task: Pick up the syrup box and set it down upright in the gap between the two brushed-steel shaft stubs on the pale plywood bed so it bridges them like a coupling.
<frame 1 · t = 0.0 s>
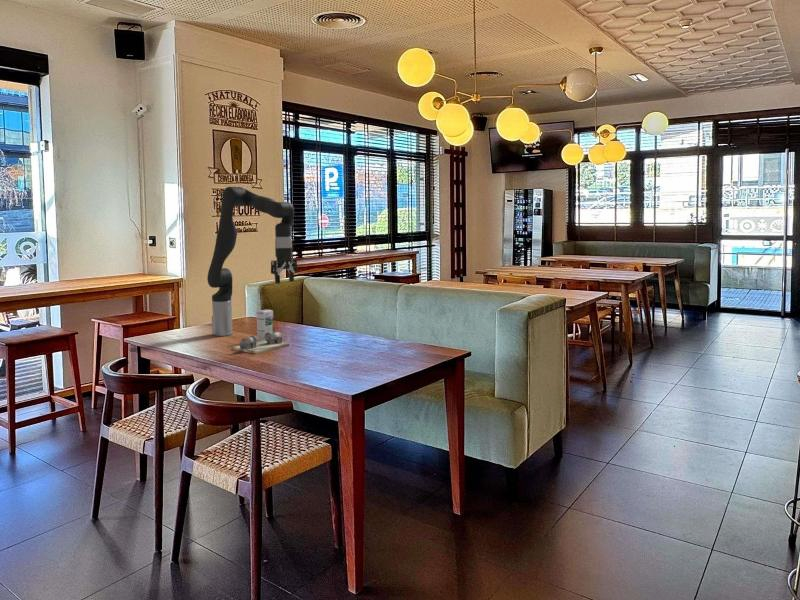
hand: (284, 282, 285), 29 cm above the table, fingers open, 8 cm apart
shaft bed: (260, 347, 284), on the table
syrup box: (265, 340, 301), on the table
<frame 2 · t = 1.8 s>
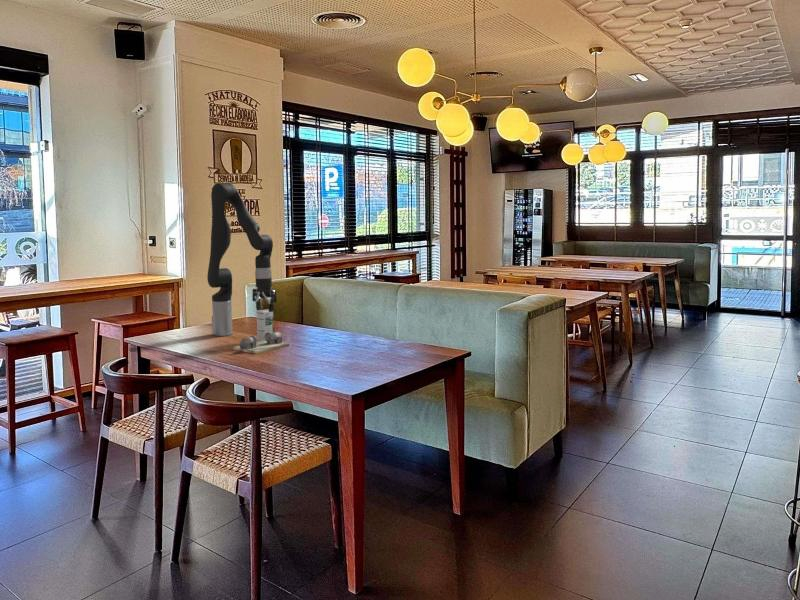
hand: (264, 310, 299), 14 cm above the table, fingers open, 8 cm apart
nothing on the table moved.
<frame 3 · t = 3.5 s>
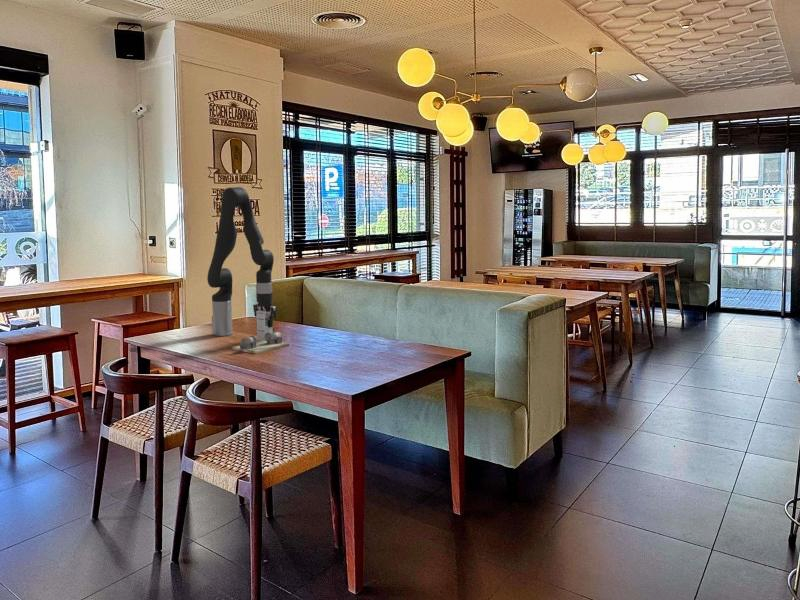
hand: (265, 326, 300), 7 cm above the table, fingers closed on syrup box, 6 cm apart
syrup box: (265, 340, 301), on the table, touching gripper
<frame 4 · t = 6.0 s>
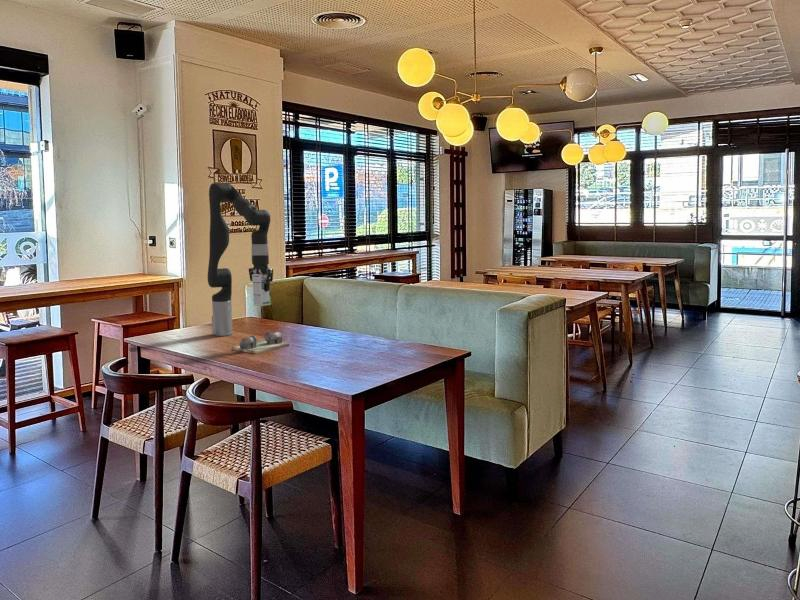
hand: (261, 290, 286), 25 cm above the table, fingers closed on syrup box, 6 cm apart
syrup box: (262, 305, 287), point 19 cm above the table, touching gripper
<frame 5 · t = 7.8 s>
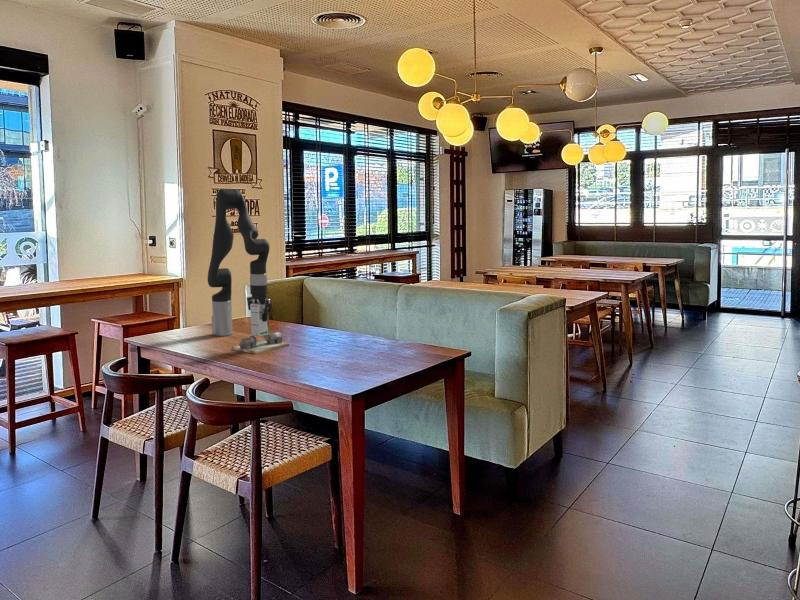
hand: (259, 320, 282), 12 cm above the table, fingers closed on syrup box, 6 cm apart
syrup box: (260, 335, 283), point 6 cm above the table, touching gripper
when the fingers open (9 cm above the table, at t = 9.0 s): syrup box stays where it is, resting on shaft bed.
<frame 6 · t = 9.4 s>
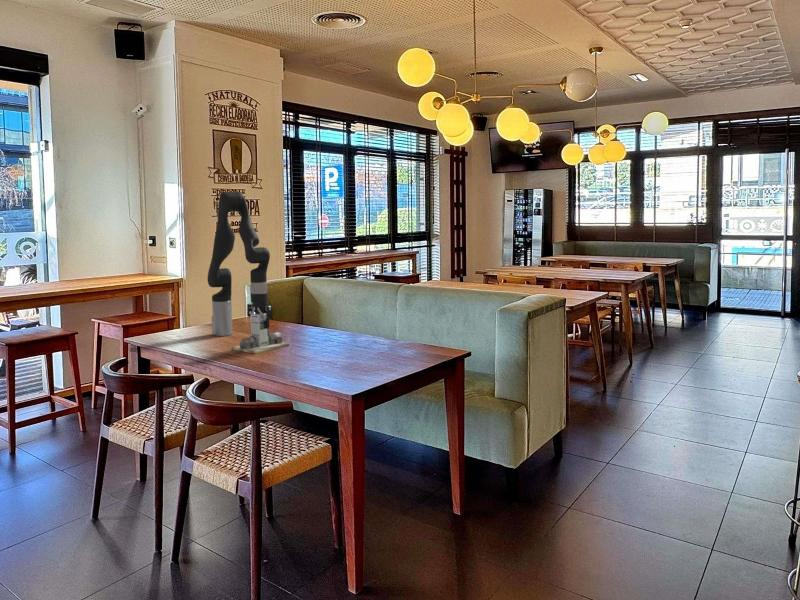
hand: (260, 327, 283), 9 cm above the table, fingers open, 8 cm apart
syrup box: (260, 345, 284), point 1 cm above the table, touching shaft bed
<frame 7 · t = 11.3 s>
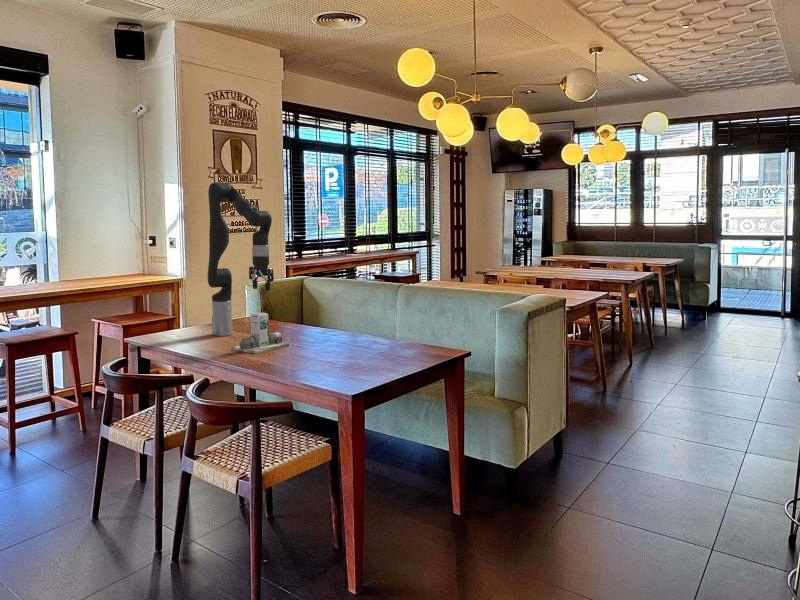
hand: (261, 289, 289), 25 cm above the table, fingers open, 8 cm apart
nothing on the table moved.
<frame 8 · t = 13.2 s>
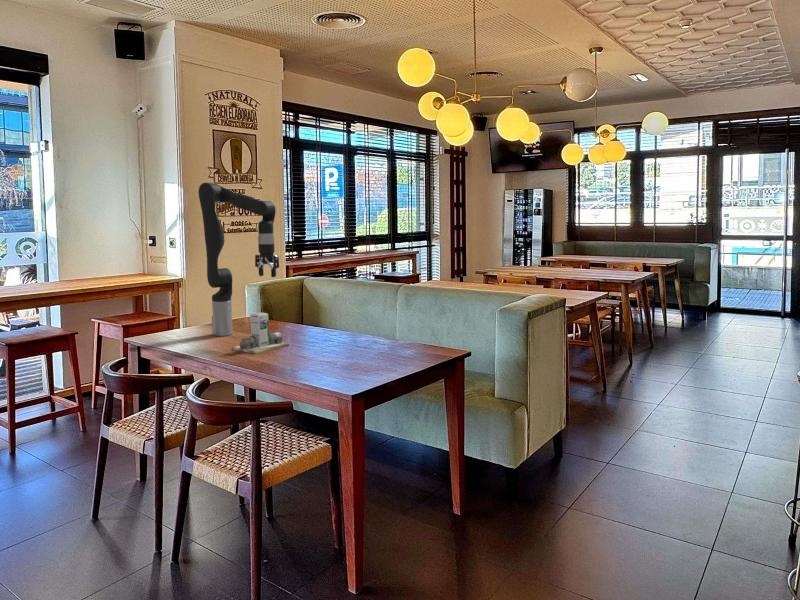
hand: (267, 276, 302), 30 cm above the table, fingers open, 8 cm apart
nothing on the table moved.
at the end: syrup box 0.2 cm off-centre on the shaft bed, point 1.0 cm above the shaft bed's base; syrup box tilted 0°; the gripper is holding nothing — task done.
